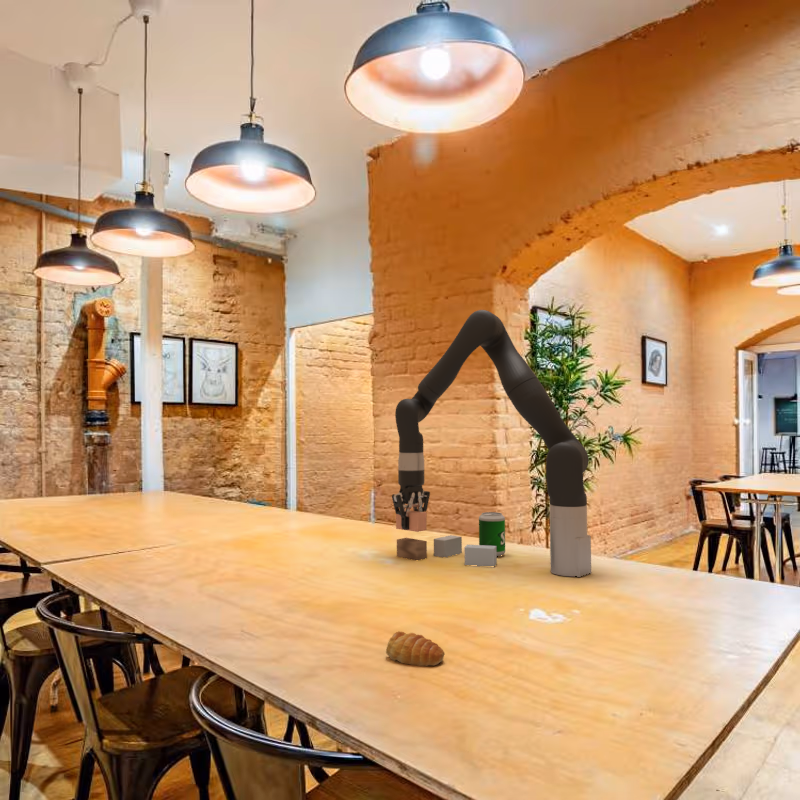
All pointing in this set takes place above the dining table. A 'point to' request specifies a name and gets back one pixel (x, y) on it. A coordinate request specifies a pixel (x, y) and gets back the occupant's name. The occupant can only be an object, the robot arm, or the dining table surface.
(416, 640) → the pastry
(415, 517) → the terracotta brick
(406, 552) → the walnut brick
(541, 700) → the dining table surface
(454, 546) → the slate brick
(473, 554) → the blue-grey brick
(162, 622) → the dining table surface
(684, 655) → the dining table surface
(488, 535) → the soda can
